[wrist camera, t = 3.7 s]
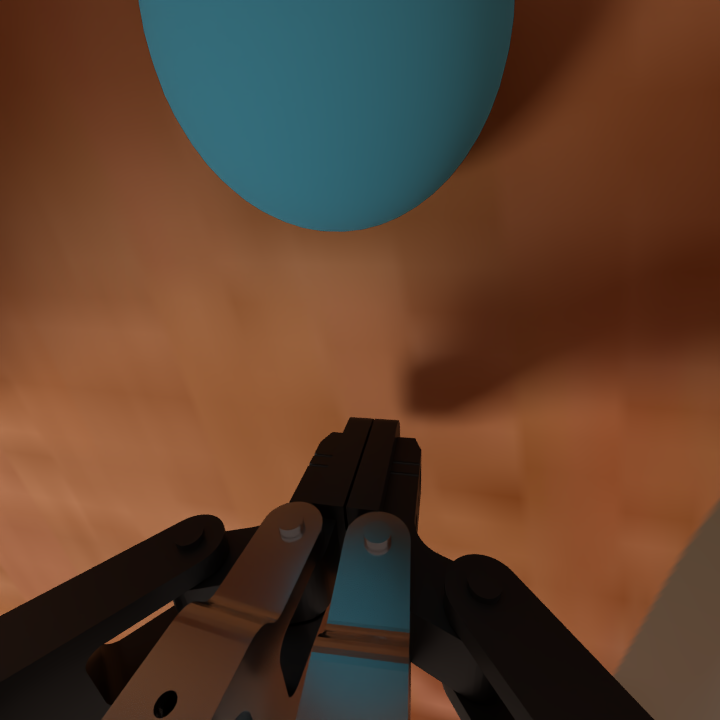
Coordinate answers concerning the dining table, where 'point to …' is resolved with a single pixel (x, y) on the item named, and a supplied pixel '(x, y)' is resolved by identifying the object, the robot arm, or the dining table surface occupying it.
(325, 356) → the dining table surface
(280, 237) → the dining table surface
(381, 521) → the robot arm
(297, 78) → the ball
